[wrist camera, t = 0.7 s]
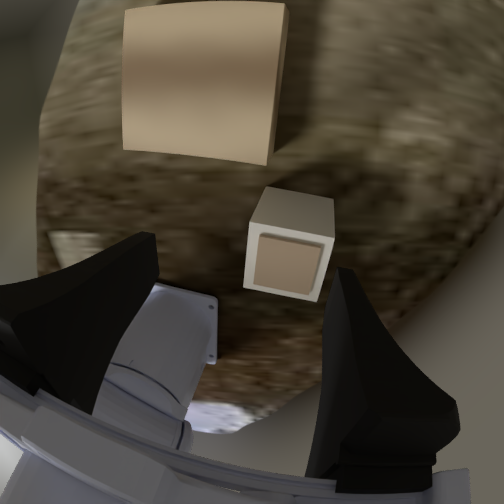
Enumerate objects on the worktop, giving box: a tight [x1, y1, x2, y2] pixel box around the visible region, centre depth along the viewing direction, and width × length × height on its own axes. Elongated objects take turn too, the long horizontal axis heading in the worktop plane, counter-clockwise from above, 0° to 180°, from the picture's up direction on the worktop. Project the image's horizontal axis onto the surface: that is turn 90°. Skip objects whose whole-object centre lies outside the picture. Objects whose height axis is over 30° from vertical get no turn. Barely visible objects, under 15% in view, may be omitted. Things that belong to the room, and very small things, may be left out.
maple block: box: [122, 1, 290, 165], centre depth 16 cm, size 9×9×3 cm
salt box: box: [243, 186, 335, 302], centre depth 19 cm, size 4×4×5 cm
